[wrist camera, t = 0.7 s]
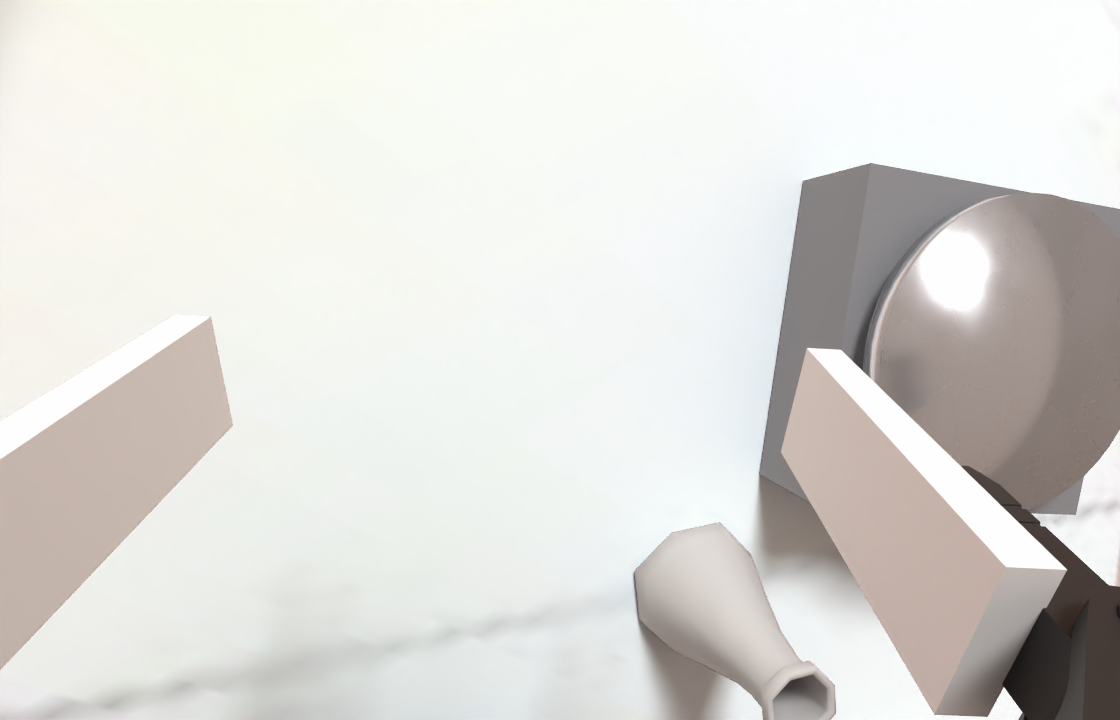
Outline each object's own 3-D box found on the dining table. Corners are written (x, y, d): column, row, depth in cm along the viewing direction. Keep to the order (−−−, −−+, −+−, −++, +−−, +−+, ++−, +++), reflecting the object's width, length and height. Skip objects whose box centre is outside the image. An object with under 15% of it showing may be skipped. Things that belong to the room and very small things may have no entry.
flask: (725, 498, 33) (848, 588, 24) (769, 603, 35) (902, 727, 25) (611, 562, 32) (691, 683, 23) (662, 667, 34) (757, 823, 24)
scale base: (997, 484, 37) (1095, 519, 32) (759, 473, 34) (823, 511, 28) (1048, 222, 36) (1160, 212, 30) (803, 181, 32) (881, 160, 26)
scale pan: (1088, 511, 31) (1109, 518, 30) (839, 503, 28) (854, 511, 27) (1149, 219, 30) (1174, 217, 29) (893, 172, 26) (911, 168, 25)
